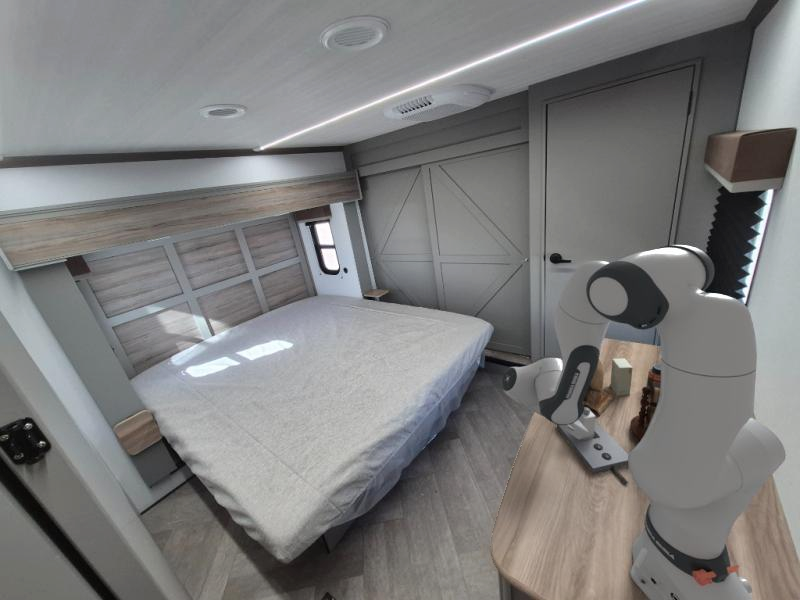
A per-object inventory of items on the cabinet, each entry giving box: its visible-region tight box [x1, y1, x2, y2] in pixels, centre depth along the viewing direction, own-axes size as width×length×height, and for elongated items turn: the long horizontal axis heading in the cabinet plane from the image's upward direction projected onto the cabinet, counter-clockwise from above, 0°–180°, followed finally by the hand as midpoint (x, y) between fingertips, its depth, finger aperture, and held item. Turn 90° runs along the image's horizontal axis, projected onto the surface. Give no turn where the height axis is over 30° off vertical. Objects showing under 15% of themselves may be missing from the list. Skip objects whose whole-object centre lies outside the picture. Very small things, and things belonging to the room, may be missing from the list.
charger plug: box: [578, 406, 596, 442], centre depth 98 cm, size 4×4×12 cm
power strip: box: [556, 420, 629, 485], centre depth 95 cm, size 23×12×3 cm, turn 6°
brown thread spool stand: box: [629, 382, 660, 443], centre depth 92 cm, size 15×15×20 cm
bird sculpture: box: [583, 358, 613, 417], centre depth 108 cm, size 11×12×32 cm
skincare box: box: [609, 357, 634, 396], centre depth 114 cm, size 6×4×12 cm
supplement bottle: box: [645, 363, 661, 395], centre depth 110 cm, size 6×6×11 cm
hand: (574, 418), depth 97 cm, fingers open, 8 cm apart
